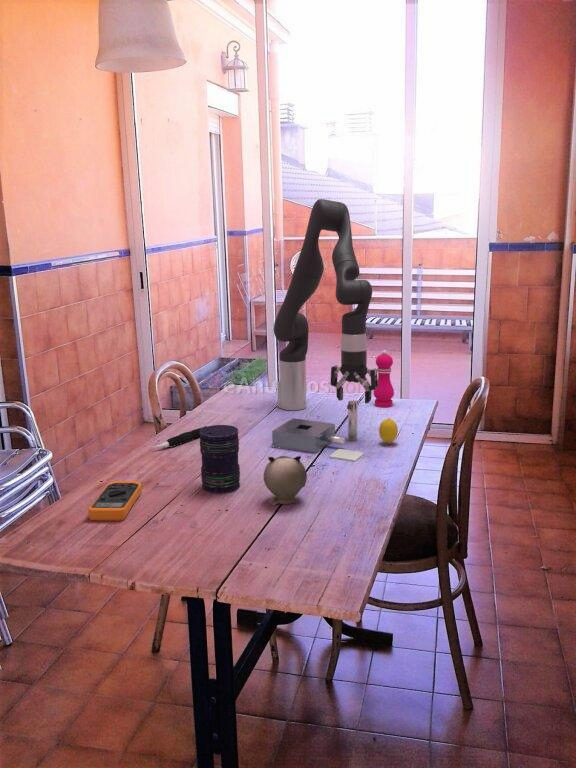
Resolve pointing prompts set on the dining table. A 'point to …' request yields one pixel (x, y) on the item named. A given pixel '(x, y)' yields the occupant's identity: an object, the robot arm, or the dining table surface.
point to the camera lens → (219, 459)
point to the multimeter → (115, 501)
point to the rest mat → (346, 455)
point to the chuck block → (305, 435)
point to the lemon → (388, 430)
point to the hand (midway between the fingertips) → (353, 401)
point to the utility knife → (180, 438)
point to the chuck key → (352, 420)
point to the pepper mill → (384, 381)
